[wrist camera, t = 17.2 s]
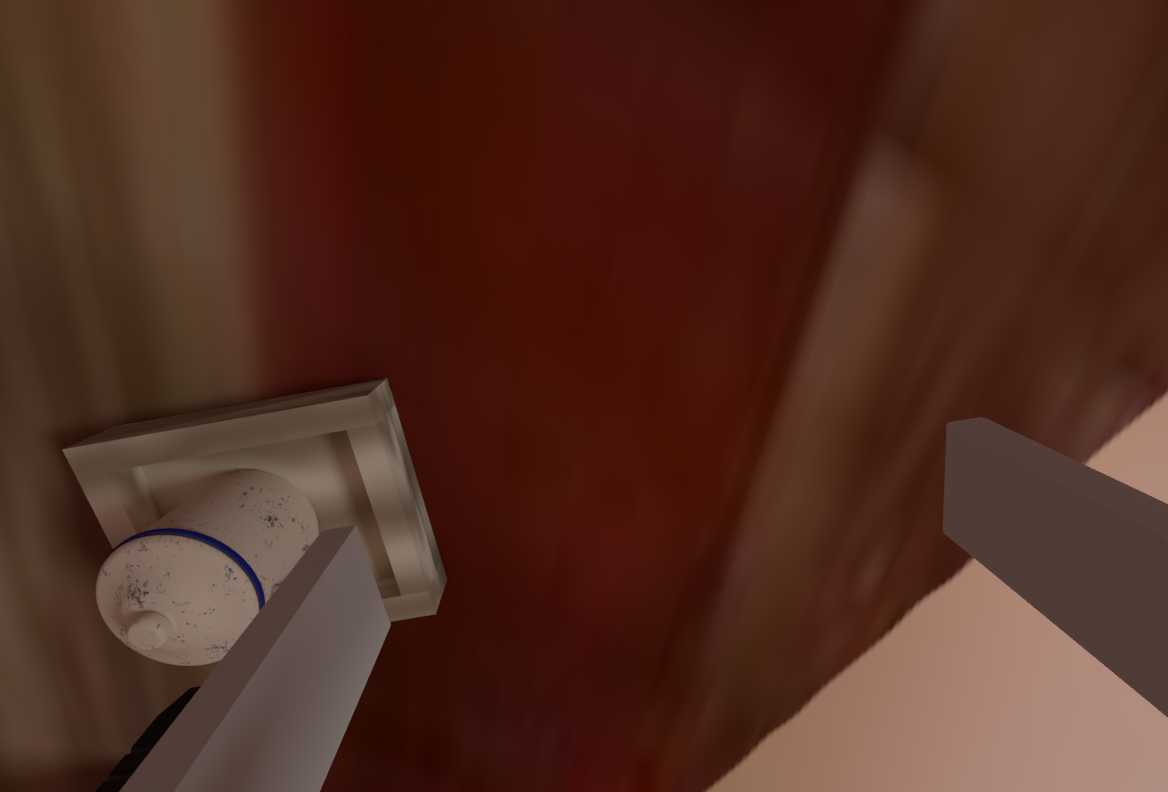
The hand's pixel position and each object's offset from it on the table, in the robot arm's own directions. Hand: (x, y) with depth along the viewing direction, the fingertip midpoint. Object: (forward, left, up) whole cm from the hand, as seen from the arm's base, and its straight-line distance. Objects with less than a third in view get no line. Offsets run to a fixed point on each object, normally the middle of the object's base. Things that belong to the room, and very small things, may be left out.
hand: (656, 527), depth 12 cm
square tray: (+10, -25, -27) cm, 38 cm away
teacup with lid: (+11, -25, -25) cm, 37 cm away
